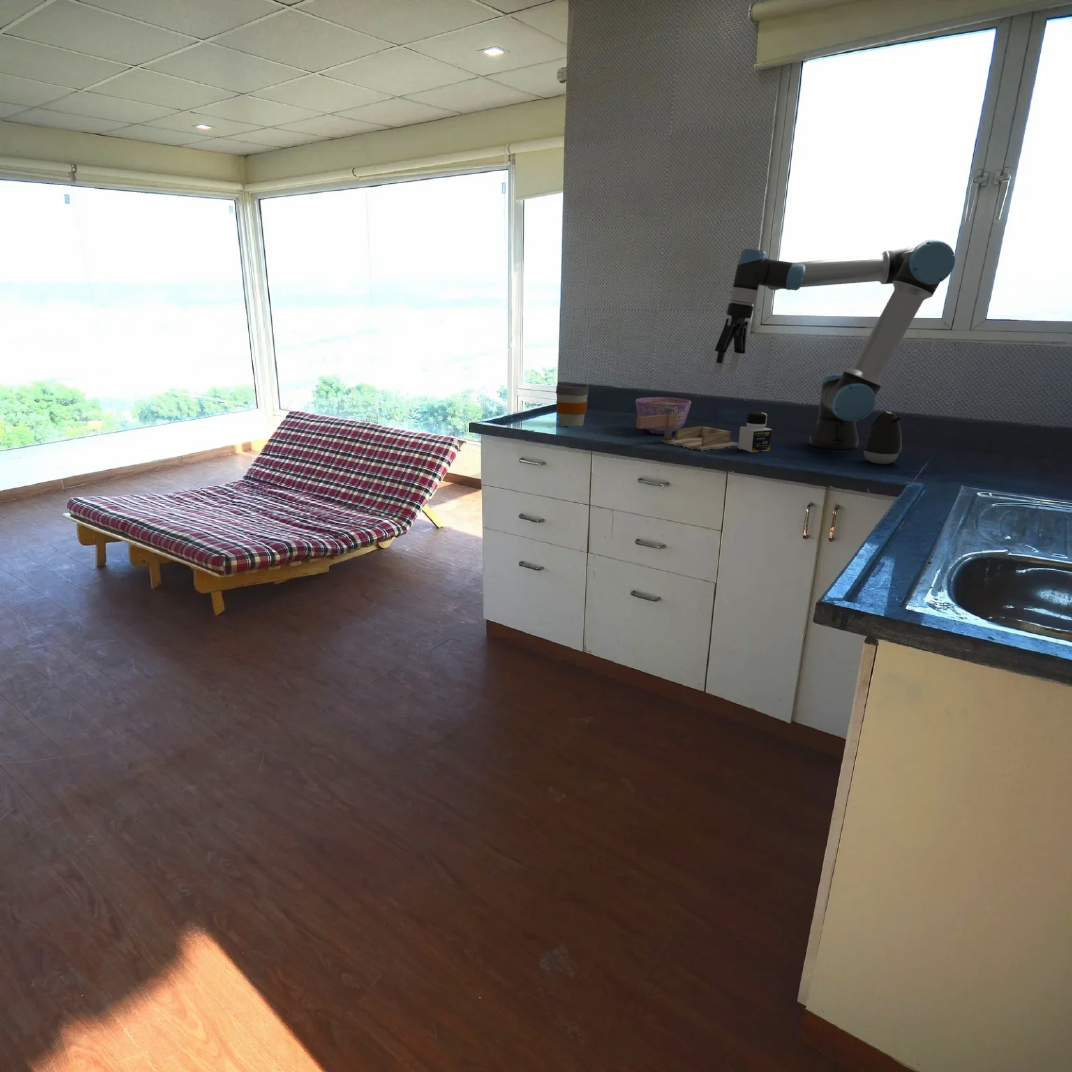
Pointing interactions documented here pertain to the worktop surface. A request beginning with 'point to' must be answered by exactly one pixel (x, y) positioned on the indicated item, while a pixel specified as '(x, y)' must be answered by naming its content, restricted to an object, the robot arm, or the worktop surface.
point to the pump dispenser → (883, 439)
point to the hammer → (659, 422)
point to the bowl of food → (663, 410)
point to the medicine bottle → (755, 433)
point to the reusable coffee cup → (571, 404)
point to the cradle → (701, 438)
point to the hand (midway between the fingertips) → (725, 373)
